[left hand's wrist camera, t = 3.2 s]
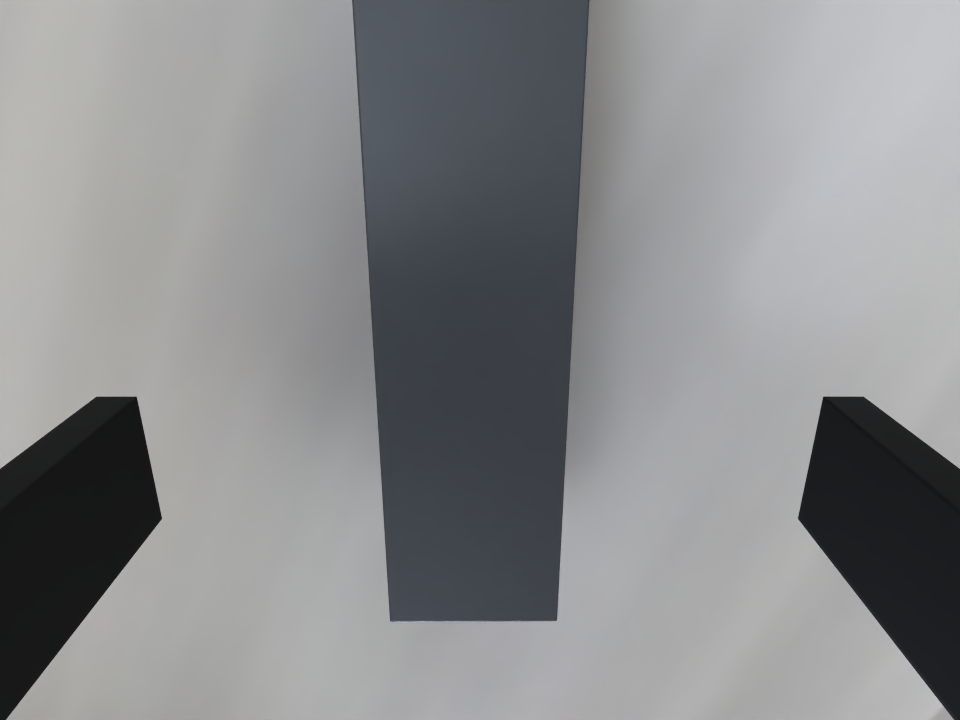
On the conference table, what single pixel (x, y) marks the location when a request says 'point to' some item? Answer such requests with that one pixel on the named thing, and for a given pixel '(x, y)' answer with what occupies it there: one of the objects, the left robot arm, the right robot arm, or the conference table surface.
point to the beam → (472, 292)
